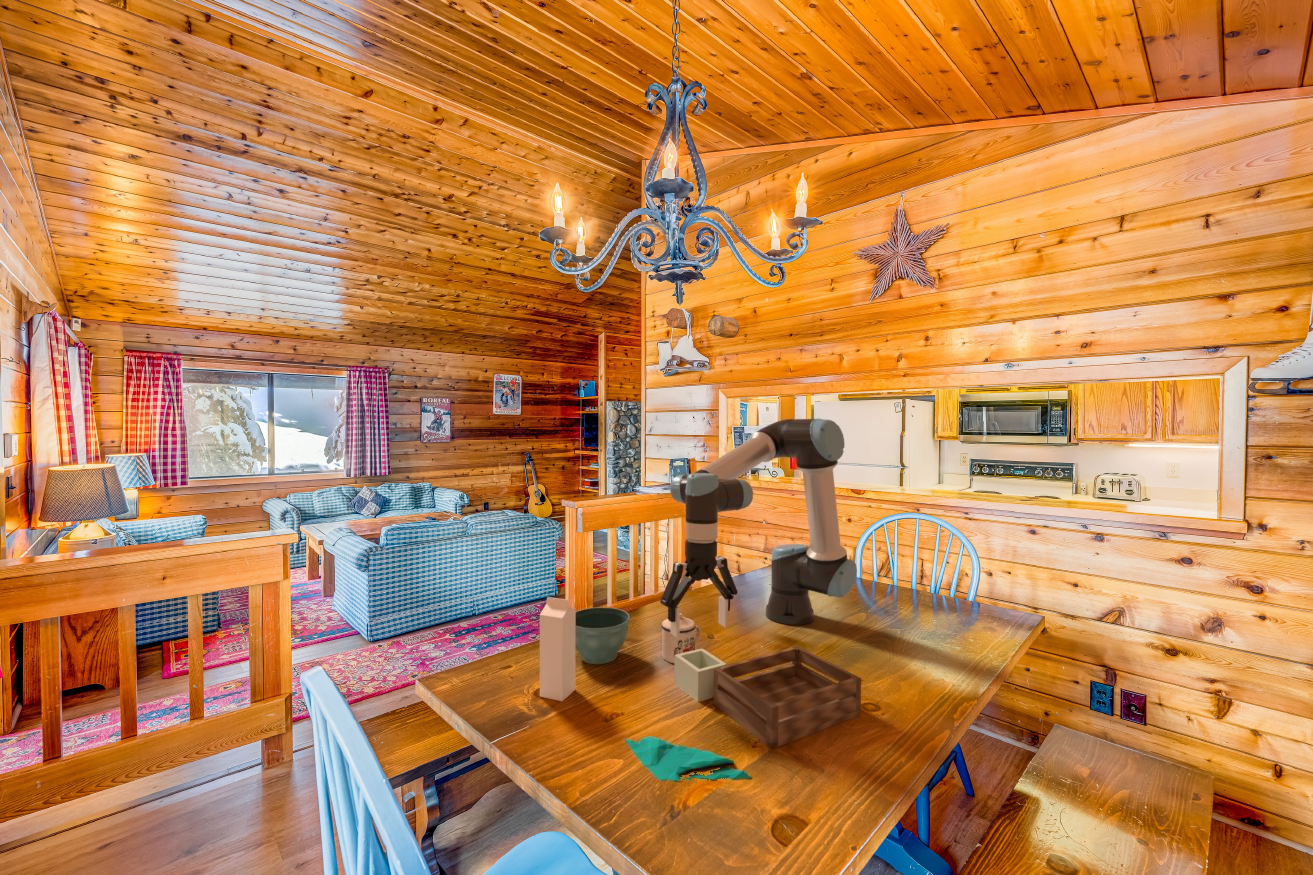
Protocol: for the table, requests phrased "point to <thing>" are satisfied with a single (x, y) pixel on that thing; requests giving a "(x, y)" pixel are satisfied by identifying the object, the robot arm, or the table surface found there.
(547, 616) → the milk
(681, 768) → the cloth
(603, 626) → the flower pot
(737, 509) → the robot arm
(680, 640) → the teacup with lid
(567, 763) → the table surface
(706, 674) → the small crate
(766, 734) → the crate
